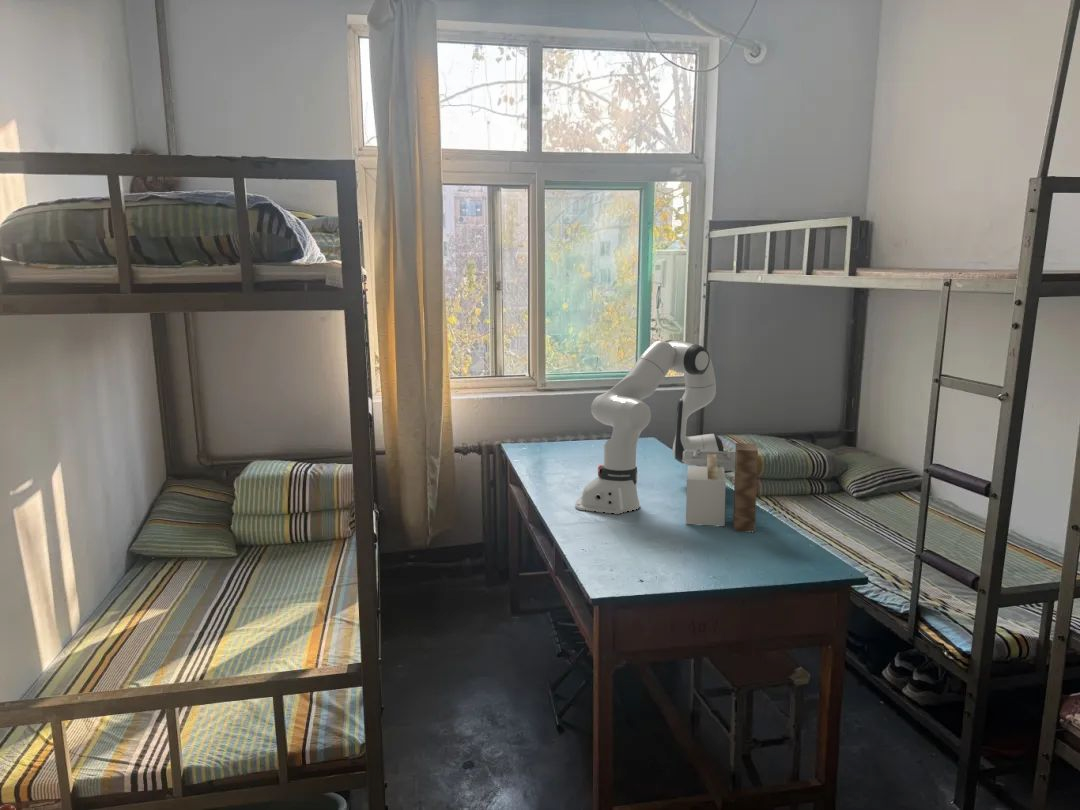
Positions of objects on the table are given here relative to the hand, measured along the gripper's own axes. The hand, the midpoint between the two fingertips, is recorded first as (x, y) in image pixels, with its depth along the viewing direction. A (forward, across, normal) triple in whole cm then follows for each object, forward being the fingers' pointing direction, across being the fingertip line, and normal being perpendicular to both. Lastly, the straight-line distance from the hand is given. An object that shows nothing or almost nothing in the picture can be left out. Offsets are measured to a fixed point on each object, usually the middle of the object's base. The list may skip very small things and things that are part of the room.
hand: (711, 451), depth 254 cm
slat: (+8, 0, +9) cm, 12 cm away
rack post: (+12, +10, +28) cm, 32 cm away
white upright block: (+5, -2, +24) cm, 25 cm away
